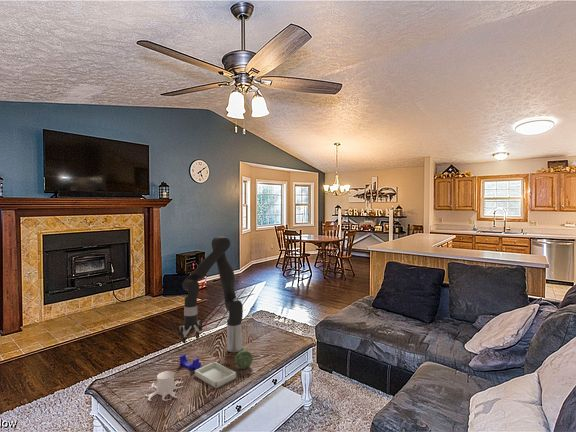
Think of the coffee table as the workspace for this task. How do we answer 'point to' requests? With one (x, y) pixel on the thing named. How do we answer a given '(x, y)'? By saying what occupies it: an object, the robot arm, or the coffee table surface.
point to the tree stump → (164, 385)
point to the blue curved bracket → (185, 363)
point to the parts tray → (215, 374)
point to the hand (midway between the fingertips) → (190, 340)
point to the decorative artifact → (243, 359)
